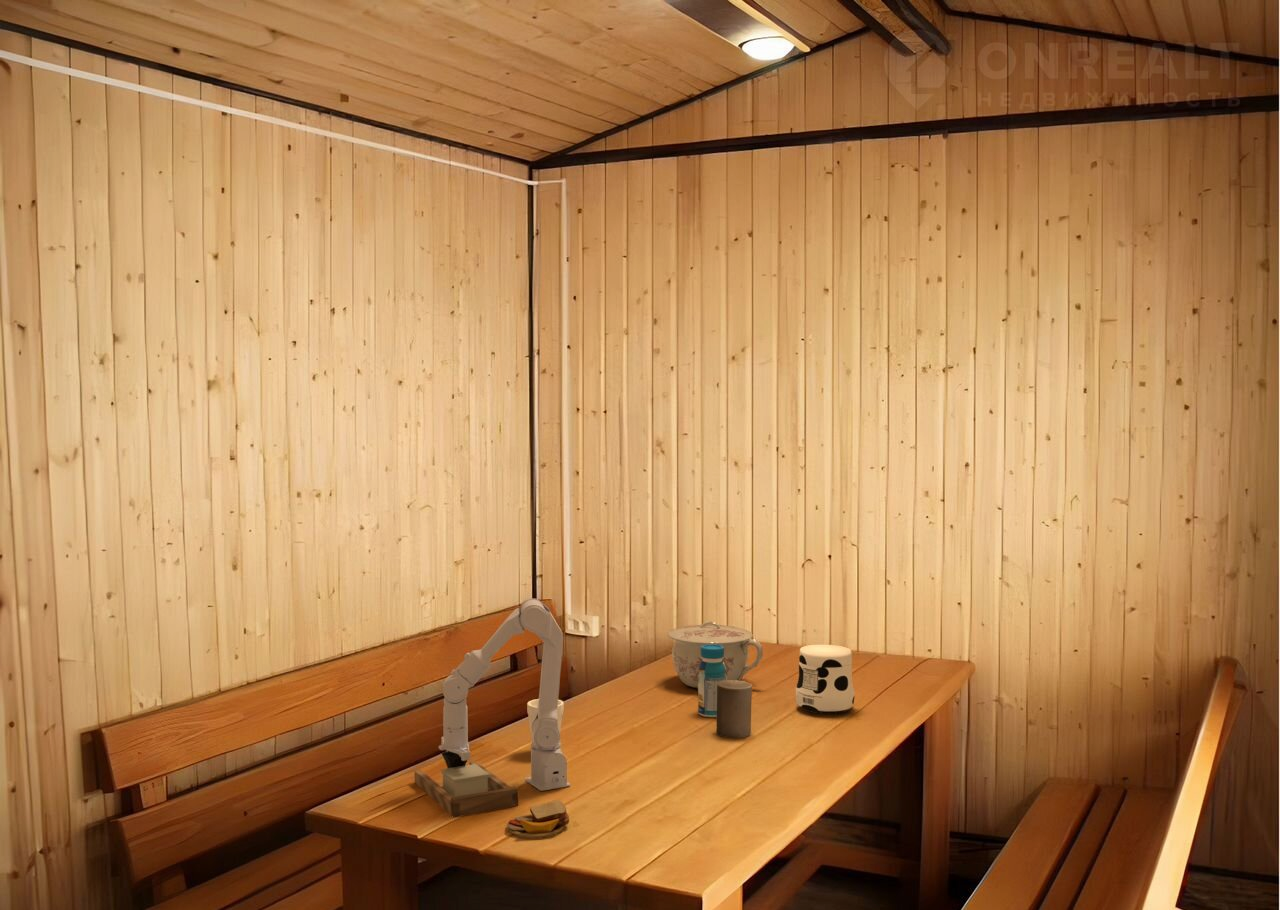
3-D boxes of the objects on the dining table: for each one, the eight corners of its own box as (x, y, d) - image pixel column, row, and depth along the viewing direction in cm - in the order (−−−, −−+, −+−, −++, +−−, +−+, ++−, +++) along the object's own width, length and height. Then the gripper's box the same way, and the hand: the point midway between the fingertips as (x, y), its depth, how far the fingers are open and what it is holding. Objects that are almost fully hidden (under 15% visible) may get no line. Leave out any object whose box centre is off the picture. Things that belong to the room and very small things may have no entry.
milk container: (852, 703, 359) (852, 644, 358) (856, 718, 342) (857, 657, 341) (794, 701, 361) (795, 643, 360) (796, 717, 344) (796, 655, 343)
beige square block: (489, 795, 275) (489, 774, 275) (454, 801, 271) (454, 779, 271) (475, 784, 283) (475, 763, 282) (441, 790, 279) (441, 769, 278)
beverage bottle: (716, 719, 341) (716, 650, 339) (691, 714, 346) (692, 646, 345) (732, 713, 347) (732, 645, 346) (708, 708, 352) (708, 642, 351)
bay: (518, 805, 269) (518, 788, 269) (453, 817, 262) (453, 799, 262) (475, 772, 292) (475, 756, 292) (414, 782, 285) (414, 766, 285)
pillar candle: (710, 734, 325) (711, 681, 324) (724, 726, 334) (725, 673, 333) (743, 740, 321) (744, 685, 320) (756, 731, 330) (757, 677, 329)
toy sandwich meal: (504, 821, 260) (504, 800, 260) (565, 817, 263) (565, 796, 263) (508, 842, 248) (508, 820, 248) (572, 838, 251) (572, 816, 250)
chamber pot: (652, 680, 387) (653, 617, 386) (726, 671, 399) (726, 610, 398) (692, 700, 362) (692, 633, 361) (769, 691, 374) (770, 625, 372)
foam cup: (568, 748, 313) (568, 699, 312) (556, 759, 304) (556, 709, 303) (534, 745, 315) (534, 697, 314) (522, 755, 306) (521, 706, 305)
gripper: (429, 720, 286) (429, 776, 287) (450, 736, 273) (450, 794, 274) (457, 716, 289) (457, 771, 290) (478, 731, 277) (479, 789, 277)
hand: (455, 782), depth 282 cm, fingers closed
